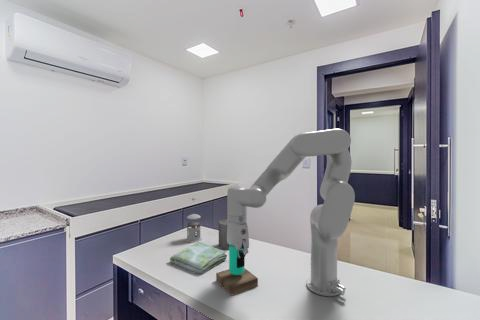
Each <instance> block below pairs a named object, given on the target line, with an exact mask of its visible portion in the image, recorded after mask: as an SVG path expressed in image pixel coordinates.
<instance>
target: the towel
mask: <svg viewBox="0 0 480 320" xmlns="http://www.w3.org/2000/svg"><path fill="white" fill-rule="evenodd" d="M227 257H228V255H227V254H226V251H225V250H224V249H219V248H216V247H214V246H211V245H209V244H206V243H204V242H201V241H200V242H197V243H193V244H192V245H190V246H188V247H187V248H184V249H181V250H180V251H178V252H176V253H174V254H173V255H172V256H170V258H169V261H170V262H171V263H172V264H175V265H177V266H179V267H182V268H184V269H186V270H188V271H192V272H194V273H197V274H200V275H202V274H204V273H206V272H208V271H209V270H210V269H213V268H214V267H216V266H217V265H218V264H220V263H222V262H223V263H224V261H226V259H227Z"/></svg>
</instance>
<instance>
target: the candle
mask: <svg viewBox="0 0 480 320" xmlns="http://www.w3.org/2000/svg"><path fill="white" fill-rule="evenodd" d="M240 249H242V247H241V248H240ZM241 252H243V250H242V251H240V253H241ZM228 253H229V254H228V257H229V258H228V262H229V263H228V267H229V268H228V269H229V271H230V273H231V274H234V275H239V274H242V273H244V268H245V266H244V267H240V268H237V257H238V254H237V249H235V247H232V246H231V245H229V249H228Z"/></svg>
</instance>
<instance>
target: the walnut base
mask: <svg viewBox="0 0 480 320" xmlns="http://www.w3.org/2000/svg"><path fill="white" fill-rule="evenodd" d="M215 278H216V279H215V281H216V282H218V284H219V285H220V286H221V287H222V288H223V289H224V290H225V291H226V292H227V294H229V295H230V296H233V295H236V294H239V293H241V292H244V291H247V290H250V289H252V288H255V287H258V286H259V278H258V277H257V276H256V275H255V274H253V273H252V272H250V271H249V270H248V269H246V268H245V267H244V273H242V274H239V275H234V274H231V273H230V271H229V268H228V269H225V270H222V271H219V272H216V274H215Z"/></svg>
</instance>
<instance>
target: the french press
mask: <svg viewBox="0 0 480 320" xmlns="http://www.w3.org/2000/svg"><path fill="white" fill-rule="evenodd" d="M195 200H196V198H195V197H193V198H192V199H191V201H195ZM186 218H187V220H193V221H192V222H191V221H190V222H188V223H187V226H186V235H187V236H186V239H185V240H186V241H185V242H186V243H188V242H190V243H189V244H196V243H195V242H197V243H198V242H199V241H200V242H201V240H203V239H202V237H201V225H200V224H201V222H200V219H201V218H202V216H201V215H199V214H197V213H192V214H189V215H187V216H186ZM197 220H198V222H197Z"/></svg>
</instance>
